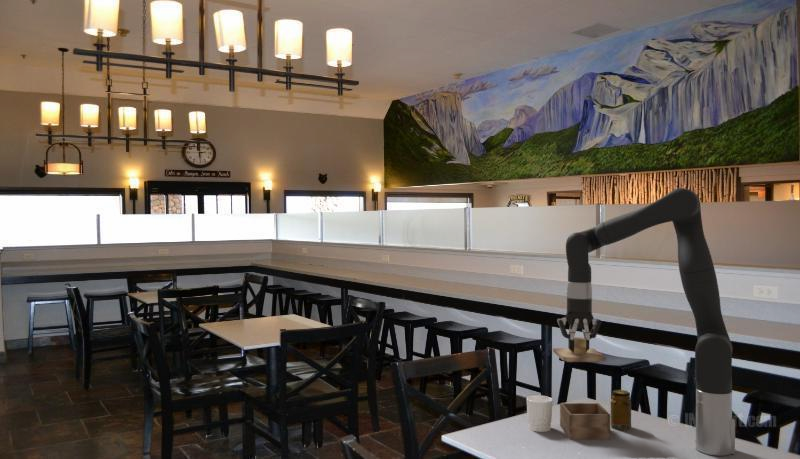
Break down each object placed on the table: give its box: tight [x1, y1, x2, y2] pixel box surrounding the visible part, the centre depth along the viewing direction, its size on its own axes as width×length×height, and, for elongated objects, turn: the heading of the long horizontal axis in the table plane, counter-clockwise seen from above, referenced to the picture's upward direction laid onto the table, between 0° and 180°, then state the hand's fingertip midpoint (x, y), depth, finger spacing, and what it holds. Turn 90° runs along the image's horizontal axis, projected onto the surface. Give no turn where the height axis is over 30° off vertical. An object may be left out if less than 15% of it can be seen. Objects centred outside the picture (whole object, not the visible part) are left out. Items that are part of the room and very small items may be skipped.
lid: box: [552, 336, 607, 363], centre depth 203 cm, size 13×13×6 cm
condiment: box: [610, 389, 632, 431], centre depth 202 cm, size 7×8×12 cm
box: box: [559, 402, 611, 440], centre depth 198 cm, size 12×12×8 cm
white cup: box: [526, 394, 553, 433], centre depth 202 cm, size 8×8×10 cm
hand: (578, 351), depth 203 cm, fingers closed on lid, 3 cm apart
